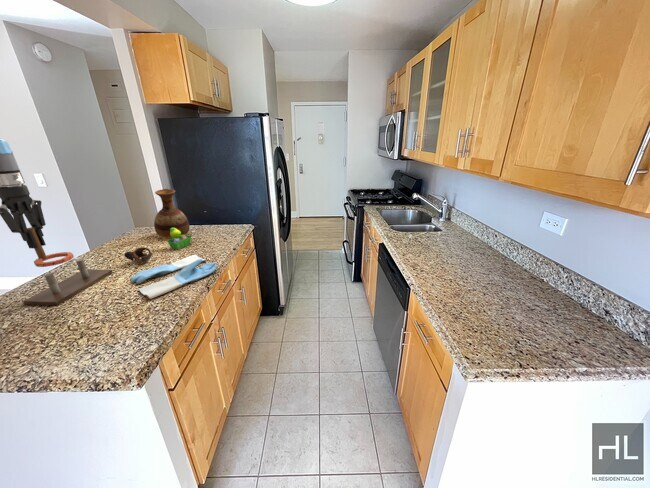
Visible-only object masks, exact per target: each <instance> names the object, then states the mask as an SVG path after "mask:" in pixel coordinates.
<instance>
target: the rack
mask: <svg viewBox="0 0 650 488" xmlns="http://www.w3.org/2000/svg"><path fill="white" fill-rule="evenodd" d="M75 262H76V265H77V268H78V270H79V272H78V273H75V274H73V275H71V276H69V277H67V278H65V279H64V280H61V281H59V282H58V281H57V279H56V277H55V275H54V273H53V272H50V273H46V274H44V275H43V276H44V278H45V281H46V283H47V285H48V287H47V288H46V289H44V290H42V291H40V292H38V293H36V294H34V295H32V296H30V297H28V298H26V299H24V300H22V302H23V304H24V305H32V306H34V305H35V306H59V305H60V304H63V303H64V302H66V301H67V300H68V299H71V298H72V297H74V296H76V295H77V294H79V293H81V292H82V291H84V290H86V289H87V288H89V287H91V286H92V285H94V284H96V283H98V282H99V281H101V280H103V279H105V278H106V277H108V276H110V275H111V274H113V270H112V269H93V268H89V269H88V268H87V265H86V263H85V260H84V259H83V258H78V259H77V260H75Z"/></svg>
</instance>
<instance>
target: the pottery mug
mask: <svg viewBox="0 0 650 488" xmlns="http://www.w3.org/2000/svg"><path fill="white" fill-rule="evenodd" d="M144 251H147V252H148V253H144ZM153 255H154V254H153V253H152V252H151V249H150V248H148V247H146V246H145V247H144V246H140V247H136V248H135V249H133V251H125V252H124V255H123V256H124V258H126V259H128V260H130V261H131V262H134V261H137V265H141V266H142V265H143V263H146V262H147V261H149V260H151V258H152V257H153Z"/></svg>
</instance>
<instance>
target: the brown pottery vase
mask: <svg viewBox="0 0 650 488" xmlns="http://www.w3.org/2000/svg"><path fill="white" fill-rule="evenodd" d="M175 193H176V190H175V189H174V188H162V189H158V190H155V192H154V194H155V195H157V196H158V197H159V198H160V200H161V203H162V208H161V209H160V210H158V212H157V213H156V214H155V217H154V221H153V226H154V227H153V228H154V231H155V233H156V234H157V236H159V237H163V238H172V237H171V235H170V229H171V228H176V229H177V230H179V231H180V232H181V235H187V234H188V232H189V231H190V222H189V219H188V217H187V215H185V213H184V212H183V211H182V210H180V209H179V208H177V207H175V206H174V201H173V200H174V199H173V197H174V194H175Z"/></svg>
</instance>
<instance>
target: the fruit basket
mask: <svg viewBox="0 0 650 488" xmlns="http://www.w3.org/2000/svg"><path fill="white" fill-rule="evenodd" d="M170 235H171V237H170V239H167V240H166V242H167V243H168V245H169V246H170V248H171V249H173V250H180V249H183V248H184V247H187V246H189V245H191V243H192V235H189V234H184V235H181V232H180V231H179V230H177V229H176V228H171V229H170Z"/></svg>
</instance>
